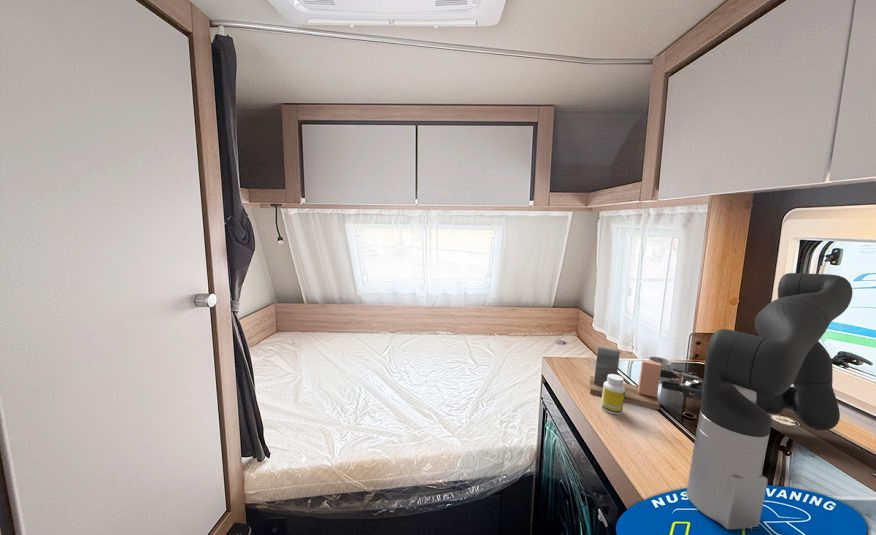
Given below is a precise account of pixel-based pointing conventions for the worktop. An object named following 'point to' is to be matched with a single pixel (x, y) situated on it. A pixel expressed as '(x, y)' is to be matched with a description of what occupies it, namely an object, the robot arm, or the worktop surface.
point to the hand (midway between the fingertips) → (659, 377)
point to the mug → (665, 365)
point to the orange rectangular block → (649, 378)
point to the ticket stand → (609, 365)
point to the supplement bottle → (613, 394)
